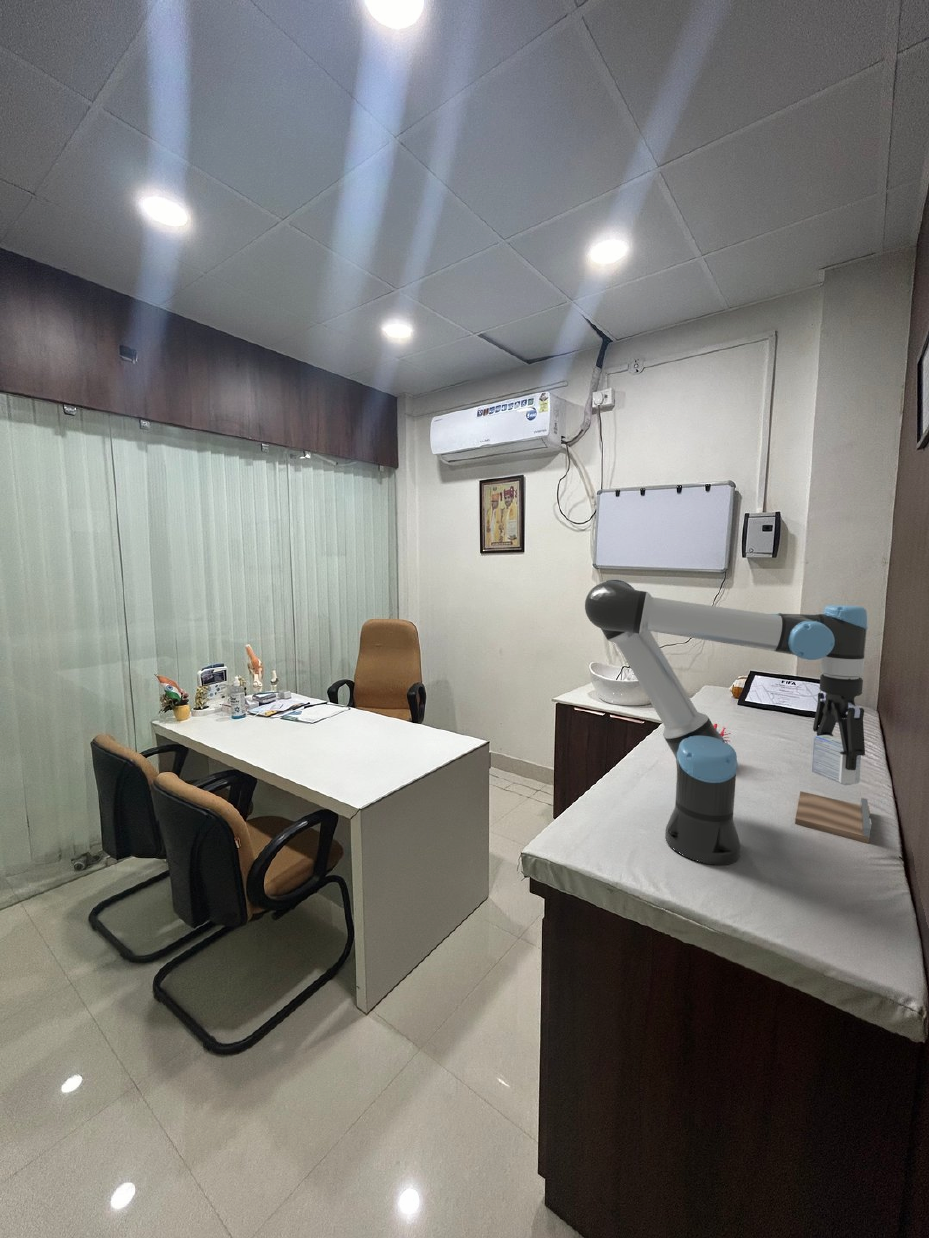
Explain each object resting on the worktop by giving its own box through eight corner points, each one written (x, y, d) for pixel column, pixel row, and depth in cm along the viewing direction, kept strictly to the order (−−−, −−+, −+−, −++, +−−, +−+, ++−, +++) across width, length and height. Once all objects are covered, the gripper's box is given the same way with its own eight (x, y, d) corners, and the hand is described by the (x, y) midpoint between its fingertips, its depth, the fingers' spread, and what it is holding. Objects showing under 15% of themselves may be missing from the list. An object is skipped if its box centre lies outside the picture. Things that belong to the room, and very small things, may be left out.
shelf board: (870, 843, 112) (872, 829, 112) (794, 823, 120) (796, 810, 120) (867, 812, 126) (868, 799, 126) (800, 796, 135) (801, 784, 134)
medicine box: (860, 783, 109) (862, 745, 108) (844, 786, 107) (847, 747, 107) (825, 769, 116) (828, 733, 115) (810, 772, 115) (812, 735, 114)
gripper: (892, 687, 98) (884, 796, 101) (833, 666, 119) (828, 756, 122) (850, 686, 100) (842, 793, 102) (799, 665, 121) (794, 754, 123)
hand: (834, 773), depth 112 cm, fingers closed on medicine box, 9 cm apart
